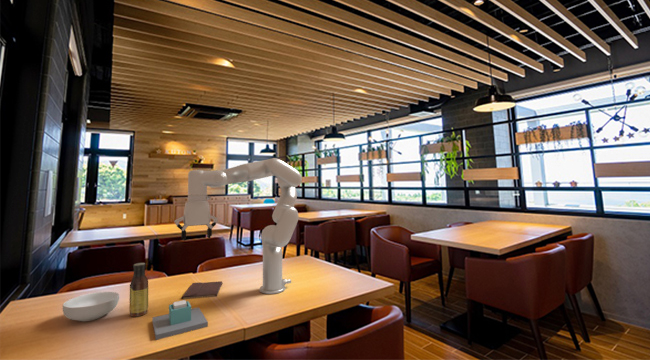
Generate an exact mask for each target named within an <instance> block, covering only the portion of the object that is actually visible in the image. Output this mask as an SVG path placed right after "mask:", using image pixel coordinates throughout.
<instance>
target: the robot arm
mask: <svg viewBox="0 0 650 360" xmlns="http://www.w3.org/2000/svg"><path fill="white" fill-rule="evenodd" d="M187 174H188V175H187V178H188V179H187V201H185V205H184V209H183V215H182V216H181V217H179V218H177V219H175V220H174V222H173V223H174V224H175V226H176V227H177V228H178V229H179V230H180V231H181V234H180V237H181V239H182V240H183V241H184V242H185V241H186V240H187V230H186V229H187V228H188V227H194V226H195V227H197V226H207V229H206V232H207V233H206V234H207V235H206V238H207V239H211V237H212V234H213V232H212V231H213V228H214V227H215V226H216V225H217V223H218V221H219V217H216V216H215V215H212V214H211V209H210V204H209V203H210V202H209V200H211V196H210V195H208V187H209V188H213V189H214V188H221V187H223V186H226V185H231V184H236V183H237V184H238V183H247V182H251V181H256V180H260V179H265V178H268V177H272V176H274V177H276V181H277V184H278V186H279V188H280V195H279V199H278V201H277V203H276V205H275V208H274V210H273V212H272V215H271V217H272V220H273V222H274V223H276V225H275V224H270V225H267V226H265V227H264V228H263V230H262V231H261V235H260V236H261V246H262V285H261V286H260V287H259V289H258V290H259V292H260V293H261V294H266V295H273V294H274V295H275V294H280V293H282V292H284V291H285V290H286V285H287V284H291V283H292V279H291V278H289V279H286V278H284V279H283V248H284V247H286V246H287V245H288V244H289V243H290V241H291V238H292V237H293V234H294V232H295V229H296V227H297V224H298V222H299V212H298V210H297V208H296V207H295V205H296V202H297V199H298V198H297V197H298V192H297V188H296V187H298V186H300V185H301V183H302V181H303V177H302V174H301V173H300V171H298V170H297V169H296V168H294V167H293V166H291V165H289V164H288V163H286V162H285V161H284V160H281V159H279V158H277V157H273V158H269V159H263V160H258V161H254V162H248V163H243V164H239V165H236V166H233V167H230V168H229V167H228V168H224V169H219V170H218V169H217V170H215V169H214V170H202V169H193V170H189V171H188V173H187ZM211 220H213V222H212V223H211ZM180 222H183V225H181V224H180Z"/></svg>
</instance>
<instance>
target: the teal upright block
mask: <svg viewBox="0 0 650 360" xmlns="http://www.w3.org/2000/svg"><path fill="white" fill-rule="evenodd" d="M185 301H186V300H185ZM186 303H187V307H184V308H179V309H175V310H173V303H172V304H169V305H168V314H169V321H170V324H171V325H174V324H179V323H183V322H187V321H191V309H192V305H191V303H190V302H189V300H187V301H186Z"/></svg>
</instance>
